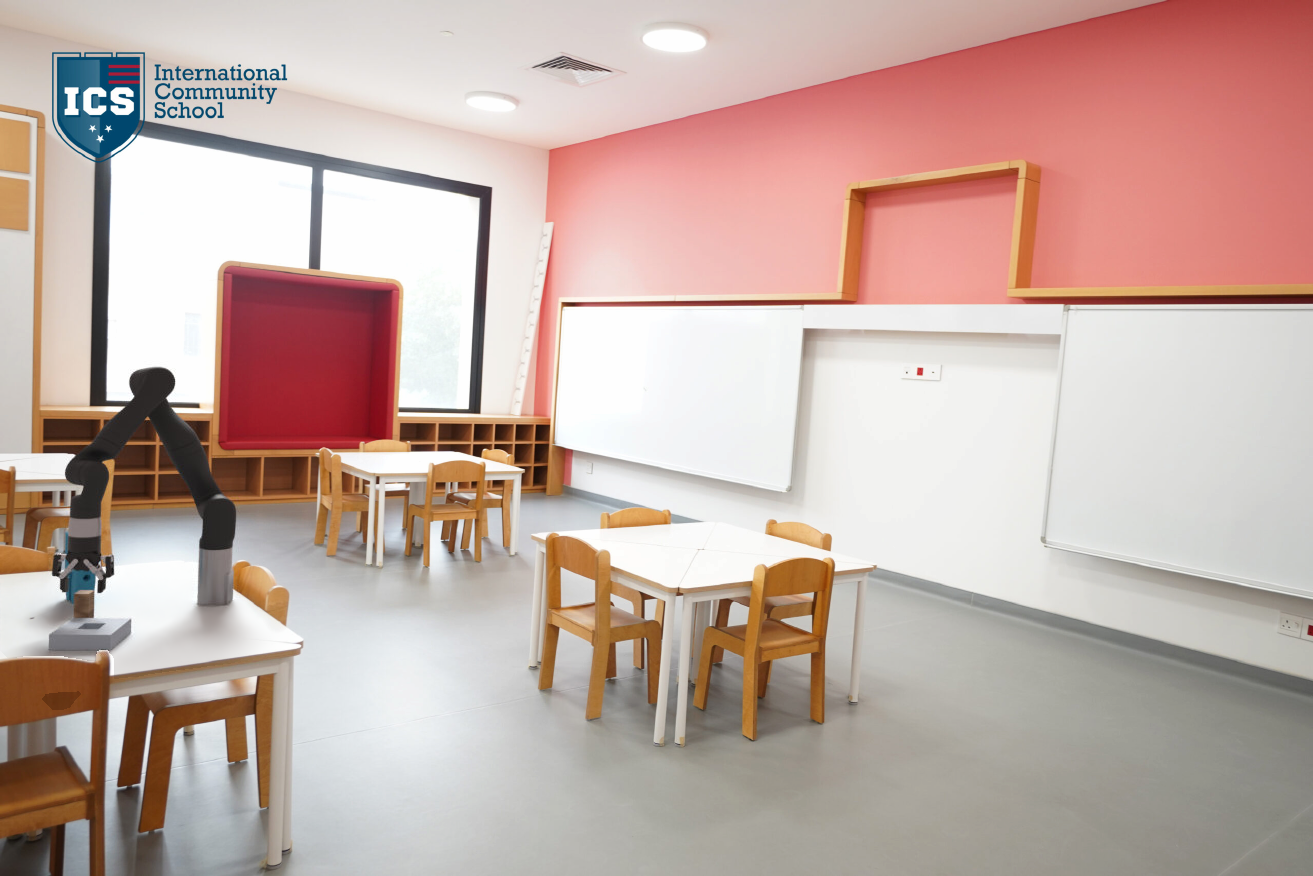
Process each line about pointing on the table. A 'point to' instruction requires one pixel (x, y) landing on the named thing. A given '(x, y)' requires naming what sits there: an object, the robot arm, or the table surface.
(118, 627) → the socket block
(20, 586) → the table surface
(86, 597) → the walnut peg
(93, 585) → the block
